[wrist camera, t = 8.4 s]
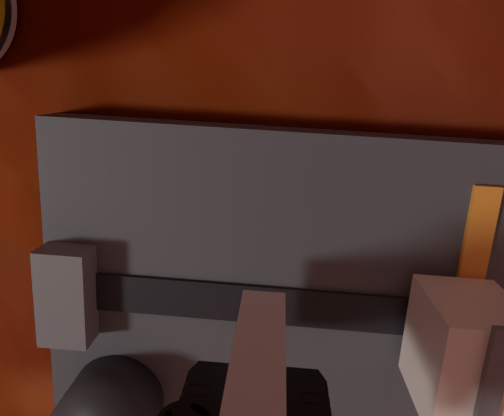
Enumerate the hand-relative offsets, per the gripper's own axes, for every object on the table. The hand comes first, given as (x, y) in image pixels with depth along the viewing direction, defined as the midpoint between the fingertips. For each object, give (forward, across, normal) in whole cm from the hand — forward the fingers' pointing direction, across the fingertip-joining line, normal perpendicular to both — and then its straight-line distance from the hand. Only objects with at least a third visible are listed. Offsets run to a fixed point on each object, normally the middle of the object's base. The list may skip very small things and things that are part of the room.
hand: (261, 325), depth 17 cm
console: (+4, +3, 0) cm, 5 cm away
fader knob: (+2, +7, 0) cm, 7 cm away
